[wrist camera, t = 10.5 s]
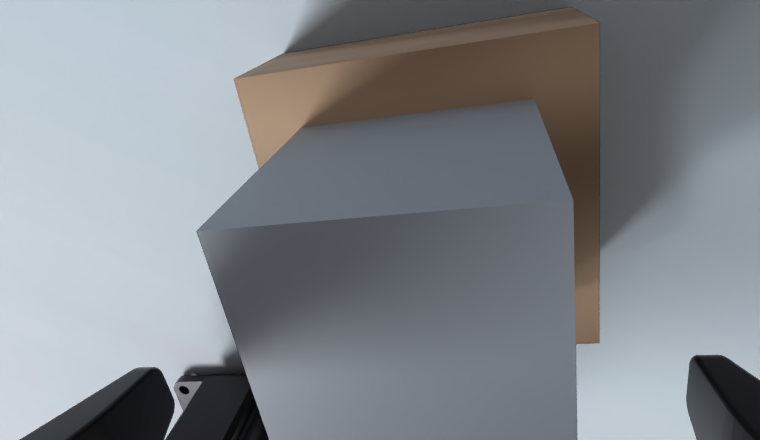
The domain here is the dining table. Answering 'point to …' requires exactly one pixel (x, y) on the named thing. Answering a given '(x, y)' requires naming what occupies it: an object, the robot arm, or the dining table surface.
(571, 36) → the walnut block
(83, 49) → the dining table surface
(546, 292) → the slate cube
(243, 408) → the robot arm
